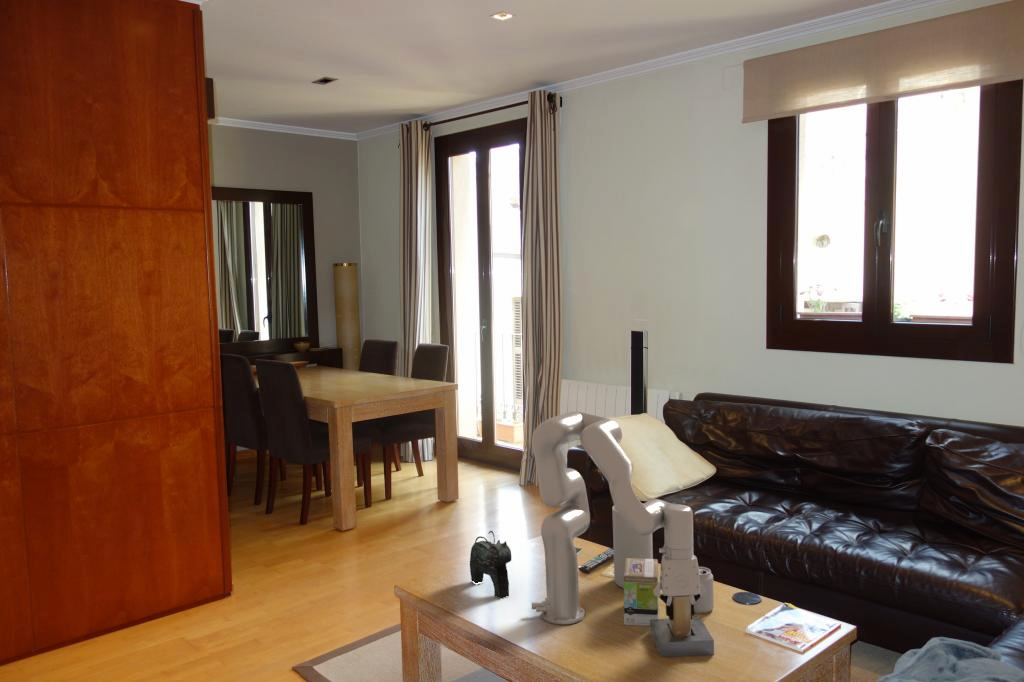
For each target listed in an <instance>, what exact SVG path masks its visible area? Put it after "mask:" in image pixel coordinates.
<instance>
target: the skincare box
mask: <svg viewBox="0 0 1024 682" xmlns="http://www.w3.org/2000/svg"><path fill="white" fill-rule="evenodd" d="M671 603H672V606H673V620H670V619H669V630H670V631H671V633H672V635H673V637H677V636H691V597H690V596H673V597H672V601H671Z"/></svg>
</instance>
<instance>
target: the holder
mask: <svg viewBox="0 0 1024 682" xmlns="http://www.w3.org/2000/svg"><path fill="white" fill-rule="evenodd" d="M649 634H650V636H651V638H652V640H653V643H654V645H655V647H656V650H657V652H658V654H659V656H660V658H677V657H678V658H679V657H694V656H697V657H698V656H714V655H715V640H714V638H713V636H712V635H711V633H710V631H709V630H708V628H707V627H706V625H705V623H704V622H703V620H702V618H701V617H700V616H697V617H696V616H695V617H694V616H692V619H691V636H677V637H673V635H672V633H671V631H670V630H669V617H668V618H658V619H650V626H649Z"/></svg>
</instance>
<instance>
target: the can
mask: <svg viewBox="0 0 1024 682" xmlns="http://www.w3.org/2000/svg"><path fill="white" fill-rule="evenodd" d="M698 568H699V577H700V583H701V584H702V585H703V586H704V588H705V589H706V591H707V592H706V593H705V594H703V595H702V596H700V598H699V599H698V600H697V601H696V602H695V604H694V613H697V614H708V613H710V612H711V611H712V610H713V609H714V607H715V604H714V603H715V601H714V600H715V599H714V598H715V597H714V575H713V574H712V571H711V569H710V568H708V567H705V566H698Z"/></svg>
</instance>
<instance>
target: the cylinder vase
mask: <svg viewBox="0 0 1024 682" xmlns="http://www.w3.org/2000/svg"><path fill="white" fill-rule="evenodd" d="M641 503H642V502H641ZM644 503H645V502H644ZM644 503H642V504H644ZM612 540H613V541H612V542H613V547H612V548H613V572H614V573H613V576H614V577H613V579H614V583H615V585H617V586H618V587H619V588H622V589H624V569H625V559H626V558H636V559H654V553H653V552H654V551H653V549H654V548H653V533H651V534H649V535H644V536H642V535H639V534H637V533H635V532H634V531H633V530H631V529H630V528H629V526H628V525H627V524H626V523H625V521H624V520H623V518H622V517H621V516H620V514H619V513H618V511H617V509H616V508H615V505H614V504H613V506H612Z"/></svg>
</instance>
